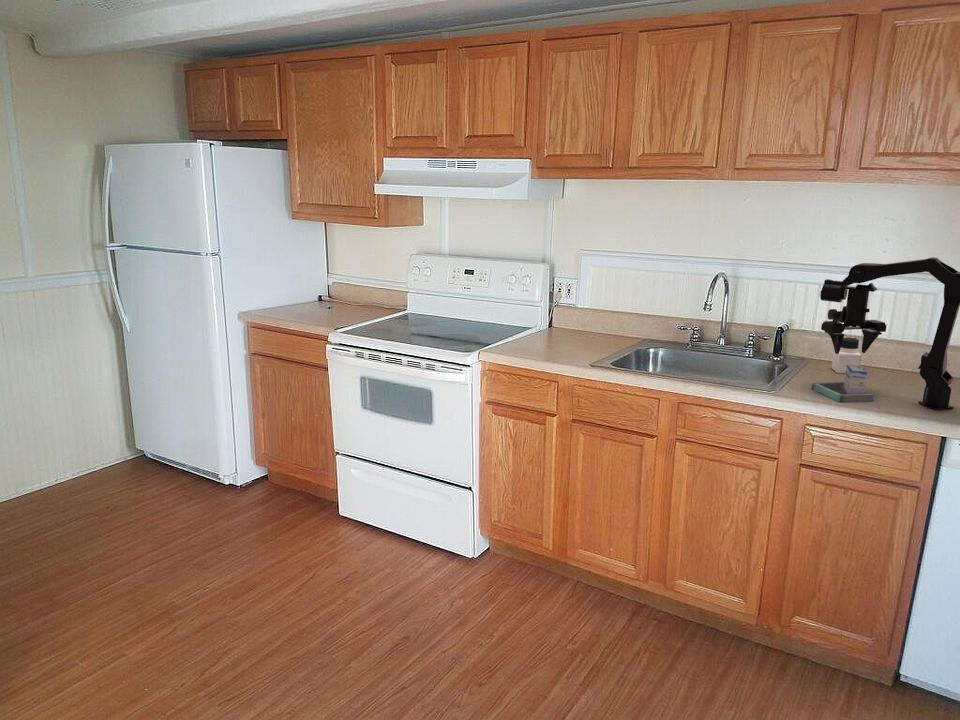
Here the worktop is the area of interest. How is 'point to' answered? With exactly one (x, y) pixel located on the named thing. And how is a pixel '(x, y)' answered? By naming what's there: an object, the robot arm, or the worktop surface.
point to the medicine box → (855, 380)
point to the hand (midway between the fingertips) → (850, 353)
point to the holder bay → (825, 389)
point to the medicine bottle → (846, 355)
